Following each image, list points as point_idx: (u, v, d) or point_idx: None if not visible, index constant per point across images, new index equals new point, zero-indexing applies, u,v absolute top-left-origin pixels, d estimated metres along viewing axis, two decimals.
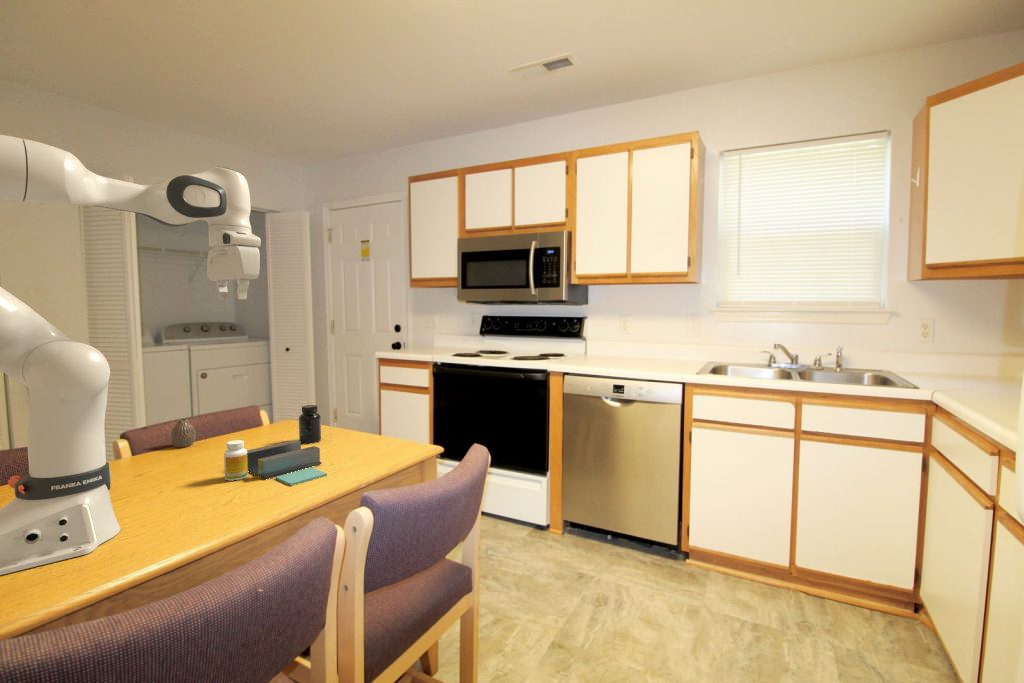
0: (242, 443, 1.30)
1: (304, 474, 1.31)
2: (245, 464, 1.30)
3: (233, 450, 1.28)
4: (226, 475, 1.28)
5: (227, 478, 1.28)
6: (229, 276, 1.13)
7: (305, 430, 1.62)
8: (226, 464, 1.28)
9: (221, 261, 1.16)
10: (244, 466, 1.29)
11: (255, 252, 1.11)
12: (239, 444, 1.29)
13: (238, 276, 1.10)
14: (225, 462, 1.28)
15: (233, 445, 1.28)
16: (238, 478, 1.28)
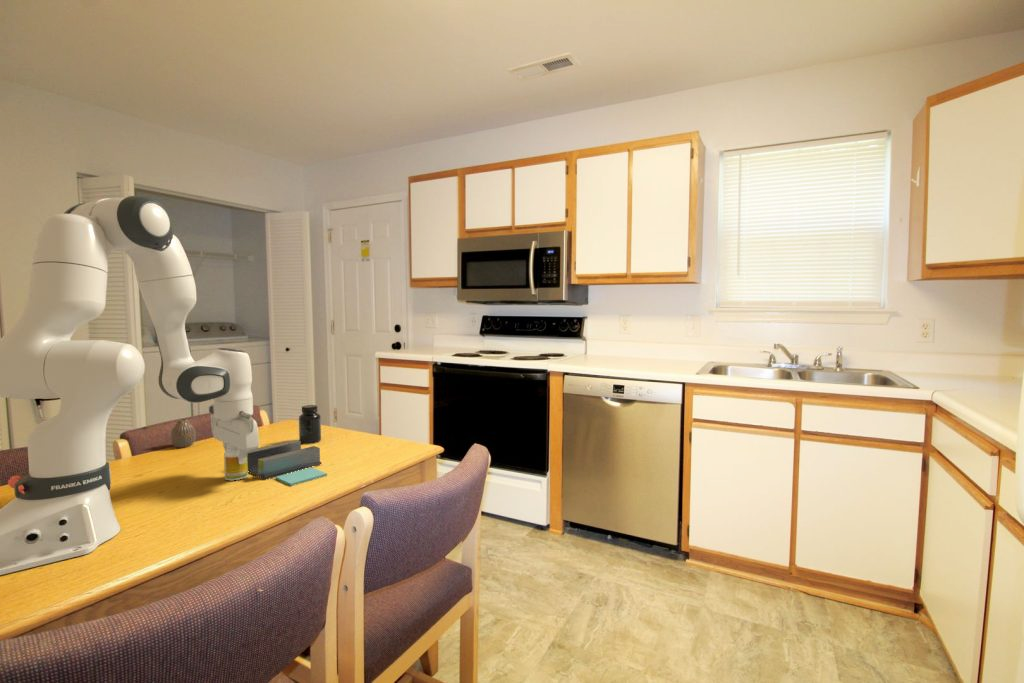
0: None
1: (304, 474, 1.31)
2: (245, 464, 1.30)
3: (233, 450, 1.28)
4: (226, 475, 1.28)
5: (227, 478, 1.28)
6: None
7: (305, 430, 1.62)
8: (226, 464, 1.28)
9: None
10: (244, 466, 1.29)
11: None
12: None
13: None
14: (225, 462, 1.28)
15: None
16: (238, 478, 1.28)
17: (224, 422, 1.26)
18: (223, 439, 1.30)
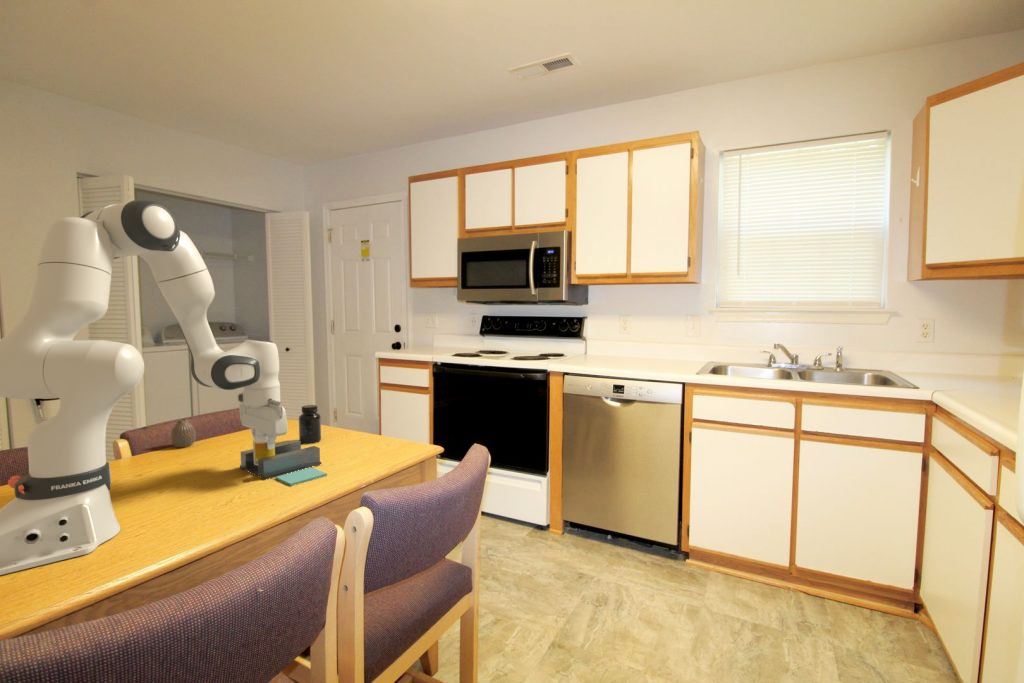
0: None
1: (304, 474, 1.31)
2: (273, 450, 1.36)
3: (262, 437, 1.34)
4: (255, 460, 1.34)
5: (256, 463, 1.34)
6: None
7: (305, 430, 1.62)
8: (255, 450, 1.34)
9: None
10: (272, 452, 1.35)
11: None
12: None
13: None
14: (254, 448, 1.34)
15: (262, 432, 1.34)
16: None
17: (254, 409, 1.32)
18: (252, 426, 1.36)
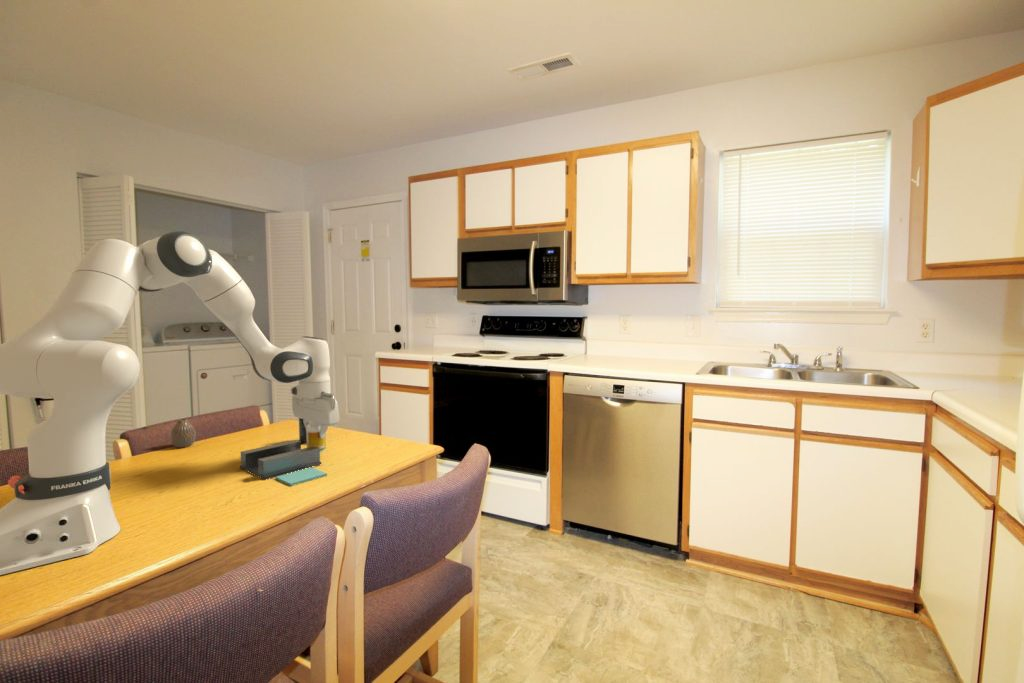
0: None
1: (304, 474, 1.31)
2: (324, 439, 1.48)
3: (315, 426, 1.46)
4: None
5: None
6: None
7: (305, 430, 1.62)
8: (309, 438, 1.46)
9: None
10: (323, 441, 1.47)
11: None
12: None
13: None
14: (308, 437, 1.46)
15: None
16: None
17: (307, 401, 1.44)
18: (305, 417, 1.48)
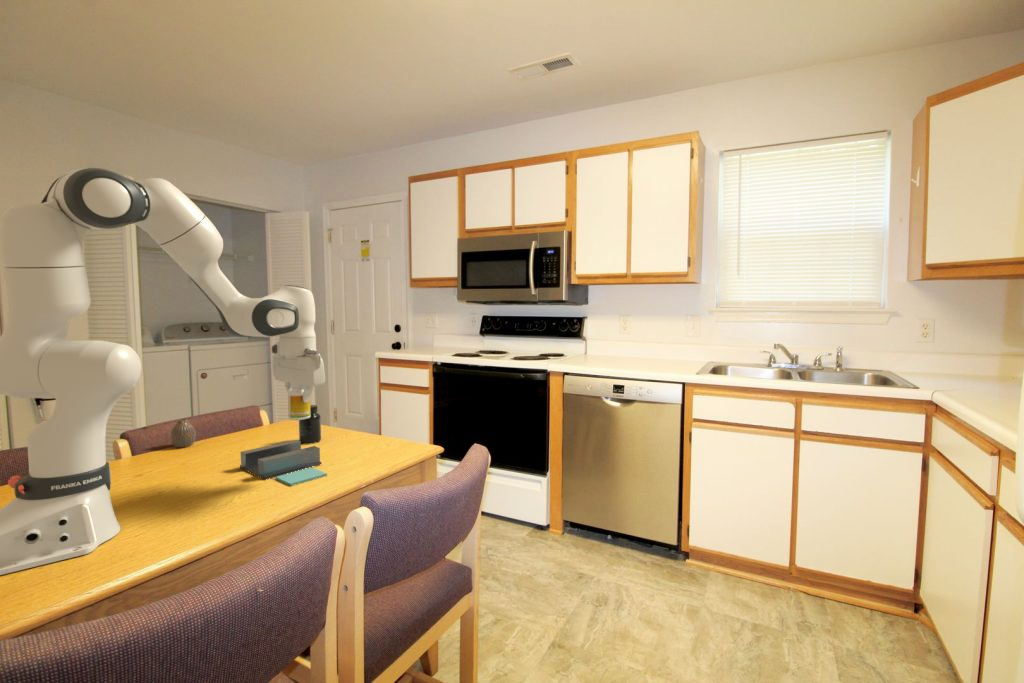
0: None
1: (304, 474, 1.31)
2: (308, 404, 1.29)
3: (298, 389, 1.28)
4: (290, 414, 1.28)
5: (291, 417, 1.27)
6: None
7: (305, 430, 1.62)
8: (290, 403, 1.27)
9: None
10: (307, 406, 1.29)
11: None
12: None
13: None
14: (289, 401, 1.27)
15: (298, 384, 1.27)
16: (302, 417, 1.28)
17: (289, 360, 1.26)
18: (286, 378, 1.29)
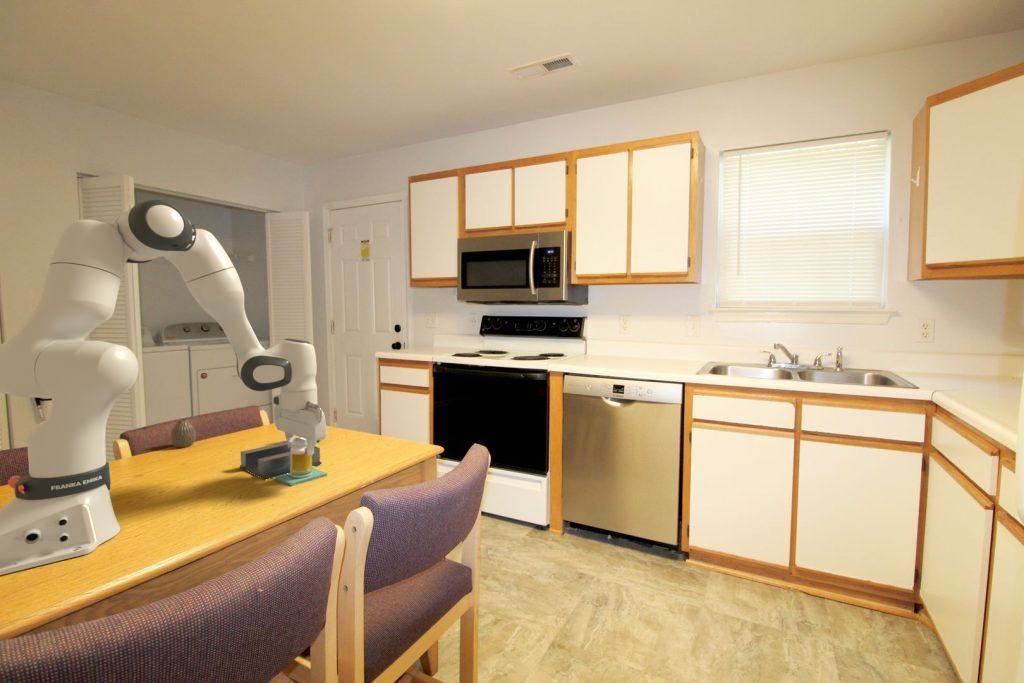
0: None
1: None
2: (310, 461, 1.31)
3: (300, 447, 1.29)
4: (292, 472, 1.29)
5: (293, 475, 1.29)
6: None
7: None
8: (292, 461, 1.28)
9: None
10: (309, 463, 1.30)
11: None
12: None
13: None
14: (291, 459, 1.29)
15: (300, 442, 1.29)
16: (304, 475, 1.29)
17: (291, 412, 1.27)
18: (288, 430, 1.30)
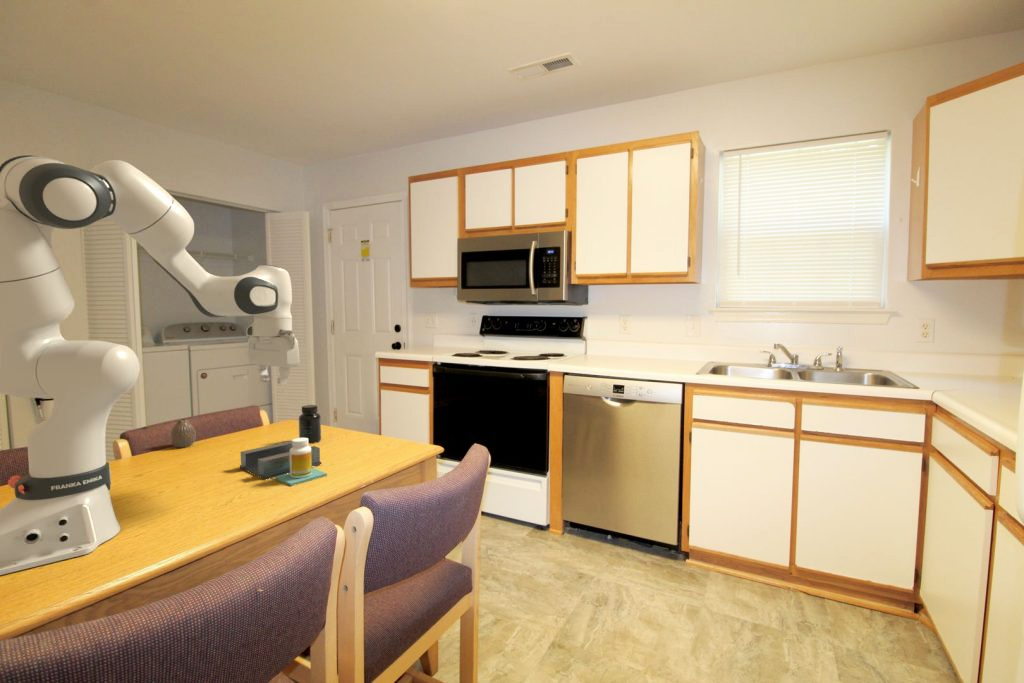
0: (307, 440, 1.30)
1: None
2: (310, 461, 1.31)
3: (299, 448, 1.29)
4: (292, 472, 1.29)
5: (293, 475, 1.29)
6: None
7: (305, 430, 1.62)
8: (292, 461, 1.28)
9: None
10: (309, 463, 1.30)
11: None
12: (304, 441, 1.29)
13: None
14: (291, 459, 1.29)
15: (299, 442, 1.28)
16: (304, 475, 1.29)
17: (263, 340, 1.23)
18: (261, 361, 1.27)
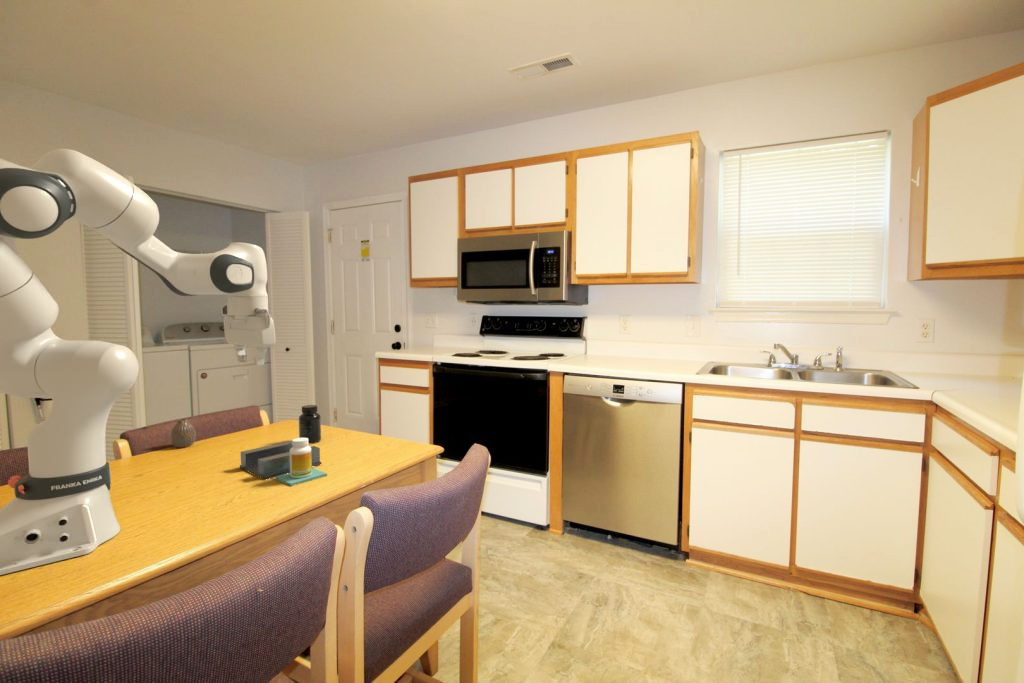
0: (307, 440, 1.30)
1: None
2: (310, 461, 1.31)
3: (299, 448, 1.29)
4: (292, 472, 1.29)
5: (293, 475, 1.29)
6: None
7: (305, 430, 1.62)
8: (292, 461, 1.28)
9: None
10: (309, 463, 1.30)
11: None
12: (304, 441, 1.29)
13: None
14: (291, 459, 1.29)
15: (299, 442, 1.29)
16: (304, 475, 1.29)
17: (238, 320, 1.20)
18: (237, 341, 1.24)
